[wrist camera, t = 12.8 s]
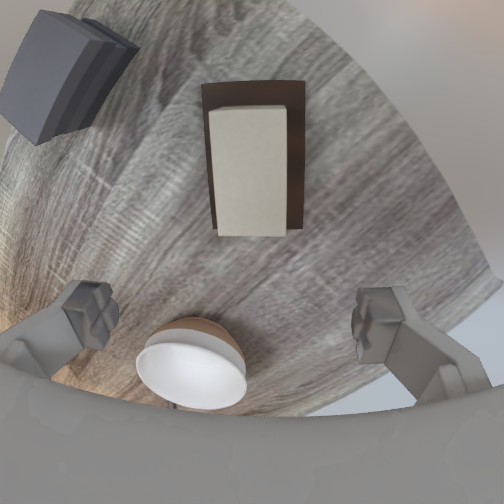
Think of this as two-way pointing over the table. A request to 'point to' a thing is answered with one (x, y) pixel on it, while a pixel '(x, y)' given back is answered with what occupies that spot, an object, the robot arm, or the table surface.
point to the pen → (171, 404)
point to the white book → (250, 170)
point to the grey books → (62, 75)
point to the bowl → (194, 364)
